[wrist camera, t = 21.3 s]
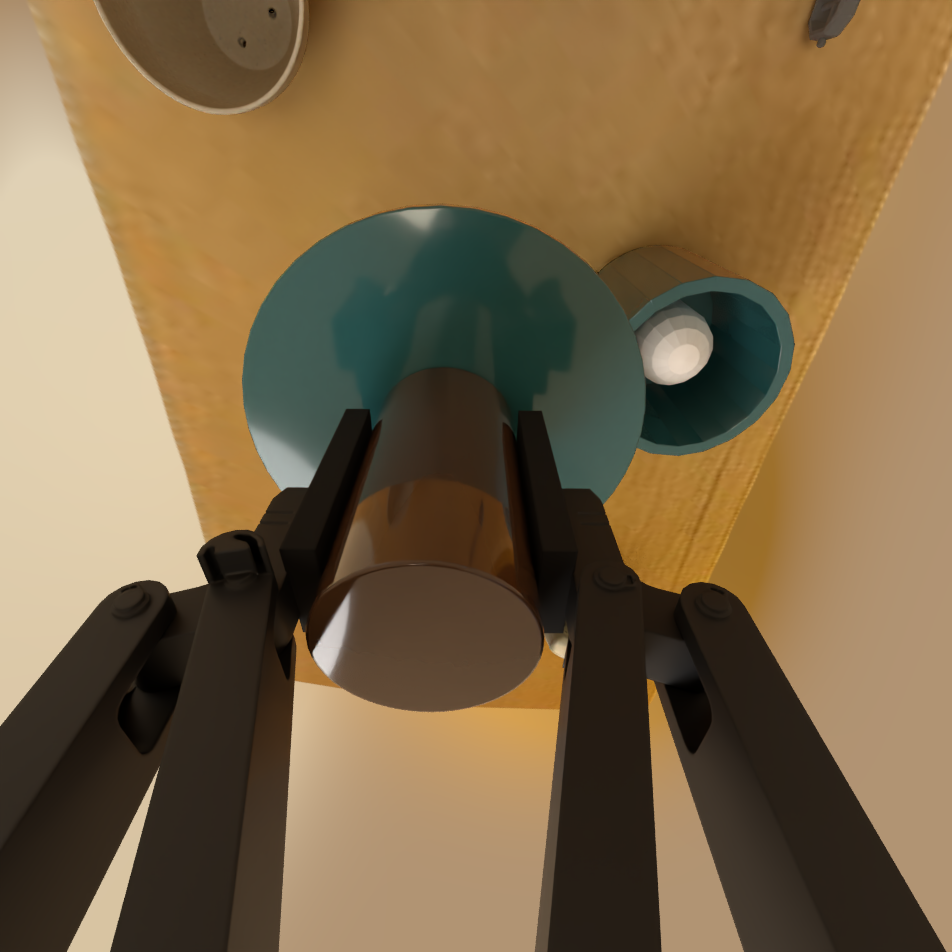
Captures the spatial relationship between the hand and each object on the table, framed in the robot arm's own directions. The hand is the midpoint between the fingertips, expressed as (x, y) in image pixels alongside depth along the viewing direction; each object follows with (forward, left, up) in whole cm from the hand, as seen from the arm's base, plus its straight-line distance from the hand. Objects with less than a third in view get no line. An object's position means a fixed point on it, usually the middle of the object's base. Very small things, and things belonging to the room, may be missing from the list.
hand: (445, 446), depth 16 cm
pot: (-11, +10, -25) cm, 29 cm away
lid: (0, 0, -2) cm, 2 cm away
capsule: (-11, +10, -24) cm, 29 cm away
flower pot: (+3, -19, -25) cm, 31 cm away
